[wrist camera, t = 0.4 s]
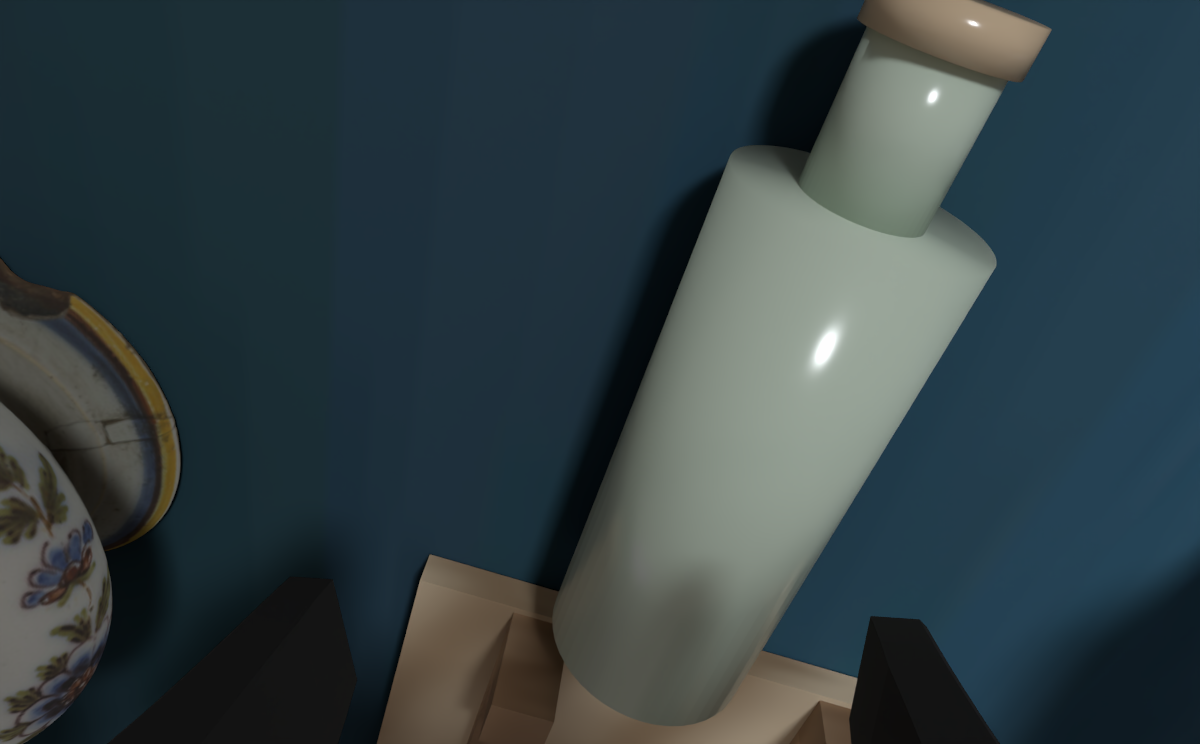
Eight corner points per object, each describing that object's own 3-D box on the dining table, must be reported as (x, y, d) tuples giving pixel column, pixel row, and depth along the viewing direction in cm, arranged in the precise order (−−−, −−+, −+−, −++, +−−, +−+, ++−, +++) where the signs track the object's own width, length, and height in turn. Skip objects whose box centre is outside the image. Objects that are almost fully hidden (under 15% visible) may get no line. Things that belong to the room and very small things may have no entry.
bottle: (738, 591, 24) (745, 751, 20) (566, 540, 23) (536, 691, 19) (1054, 22, 16) (1185, 84, 11) (799, -68, 15) (837, -39, 11)
